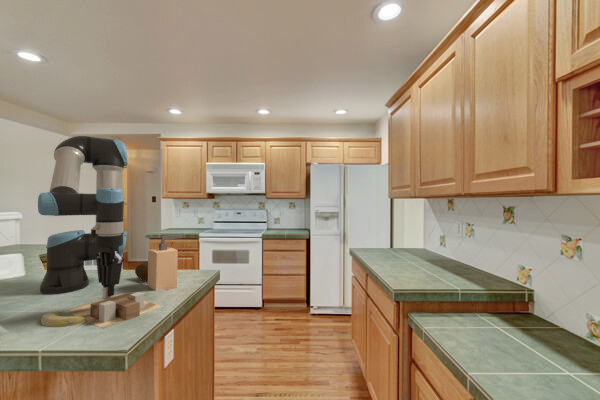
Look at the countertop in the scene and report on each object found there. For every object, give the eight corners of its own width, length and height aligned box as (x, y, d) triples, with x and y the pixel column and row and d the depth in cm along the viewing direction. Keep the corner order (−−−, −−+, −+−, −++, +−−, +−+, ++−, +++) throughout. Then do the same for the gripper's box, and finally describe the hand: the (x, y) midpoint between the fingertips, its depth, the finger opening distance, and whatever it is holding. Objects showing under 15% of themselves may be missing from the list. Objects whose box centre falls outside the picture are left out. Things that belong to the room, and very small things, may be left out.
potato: (153, 275, 130) (153, 257, 130) (163, 280, 122) (163, 261, 122) (133, 279, 124) (134, 260, 124) (143, 284, 116) (143, 264, 116)
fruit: (56, 336, 73) (56, 324, 73) (32, 323, 80) (32, 312, 80) (86, 325, 79) (87, 314, 79) (62, 314, 86) (62, 304, 86)
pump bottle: (155, 293, 106) (156, 238, 106) (147, 288, 112) (148, 236, 112) (186, 285, 116) (187, 235, 116) (177, 281, 122) (178, 233, 122)
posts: (98, 320, 80) (99, 303, 80) (138, 306, 90) (138, 291, 90) (104, 322, 78) (104, 305, 78) (144, 308, 89) (144, 293, 89)
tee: (90, 316, 82) (90, 303, 82) (130, 303, 93) (130, 292, 93) (111, 325, 77) (112, 311, 77) (151, 310, 87) (151, 298, 87)
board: (62, 313, 86) (62, 310, 86) (121, 296, 102) (121, 293, 102) (103, 331, 75) (103, 328, 75) (161, 309, 91) (161, 306, 91)
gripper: (86, 234, 88) (84, 304, 88) (108, 237, 82) (106, 313, 82) (110, 231, 95) (109, 297, 95) (132, 234, 89) (131, 305, 89)
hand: (108, 304), depth 89 cm, fingers closed
